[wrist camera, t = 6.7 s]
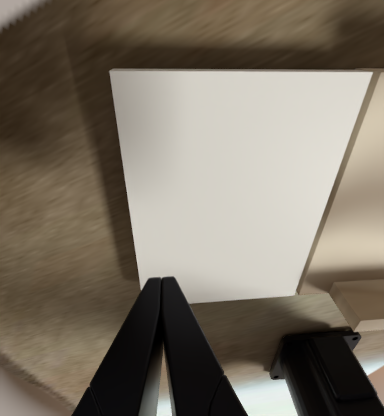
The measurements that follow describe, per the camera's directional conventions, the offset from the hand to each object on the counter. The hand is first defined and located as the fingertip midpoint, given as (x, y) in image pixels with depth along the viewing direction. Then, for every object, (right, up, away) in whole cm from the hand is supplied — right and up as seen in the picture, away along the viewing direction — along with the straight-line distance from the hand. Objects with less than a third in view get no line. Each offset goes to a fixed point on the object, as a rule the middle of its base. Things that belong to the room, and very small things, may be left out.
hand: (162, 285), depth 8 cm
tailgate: (+7, +2, +4) cm, 8 cm away
